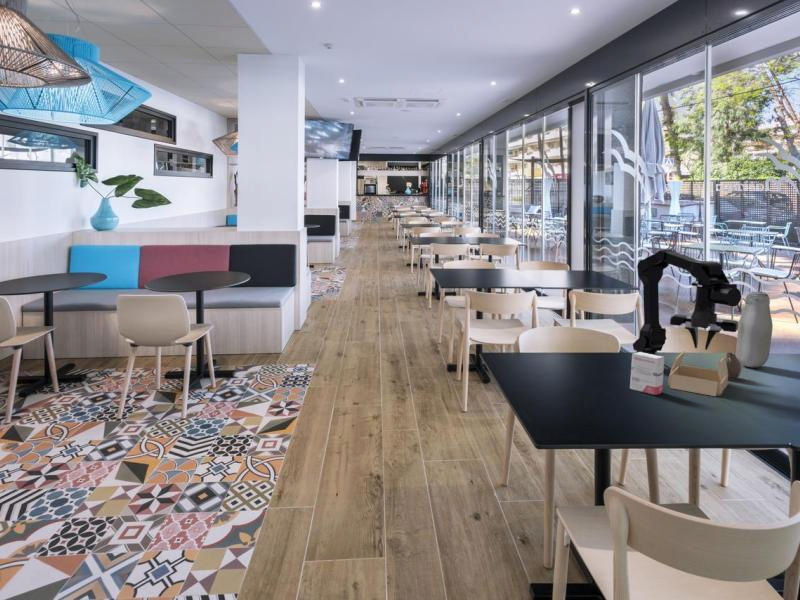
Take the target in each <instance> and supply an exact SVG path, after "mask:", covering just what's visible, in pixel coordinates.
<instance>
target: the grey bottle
mask: <svg viewBox="0 0 800 600" xmlns="http://www.w3.org/2000/svg"><path fill="white" fill-rule="evenodd" d="M744 300H745V301H744V306H743V310H742V312H741V315H740V318H739V320H738V330H737V333H736V334H737V337H736V338H737V339H736V346H735V348H736V349H735V351H736V352H735V355H736V357H737V359H738V360H739V362H740V364H741V366H744V367H748V368H752V369H753V368H759V367H760V368H761V367H763V366H764V365H765V364H766V363H767V361H768V359H769V357H770V351H771V342H772V336H773V335H772V334H773V319H772V315H771V307H770V304H771V298H770V296H769V294H768V293H766V292H763V291H751V292H749V293H747V295H746V297H745V299H744Z"/></svg>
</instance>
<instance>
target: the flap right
mask: <svg viewBox="0 0 800 600" xmlns="http://www.w3.org/2000/svg"><path fill="white" fill-rule="evenodd" d="M719 361H720V362H719ZM719 361H718V363H717V364H716V368H717V369H716V370H718V373H719V378H720V381H722V380H723V378H724V377H725V376H726V374H727V373H728V369H727V365H726V360H725V357H724V356H723V357H722V358H721V359H720V360H719Z"/></svg>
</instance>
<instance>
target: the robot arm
mask: <svg viewBox="0 0 800 600" xmlns="http://www.w3.org/2000/svg"><path fill="white" fill-rule="evenodd" d="M670 265H672V266H674V267H676V268H679V269H682V270H684V271H686V272H689V273H690V275H691V277H693V278H694V279H696V280H694V281H693V282H692V283H691V286H693V287H696V289H695V290H696V292H695V301H694V302H695V303H694V309H693V311H692V313H691V316H690V317H691V318H689V317H688V315H685V314H674V315H672V316H671V317H670V319H669V325H671V326H678V327H680V326H682V325H684V324H685V326H684V329H685V330H688V332H689V333H690V336H691V339H692V342H693V345H694V348H695V349H697V348H698V345H699V344H698V343H699V340H698V339H699V328H702V329H707V328H709V327H710V328H709V329H708V331H707V337H706V342H705V347H704V348H705V349H704V350H705V351H706V350H708V349H709V346H710V344H711V342H712V340H713V338H714V337H715V335H717V334H719V333H720V332H721V331H723V332H729V333H736V332H738V324H739V321H737V320H734V319H733V320H732V319H723V320H722V321H717V320H718V314H717V313H716V305H722V306H726V307H731V308H733V307H734V308H735V307H736V306H738V305H739V304H740V302H741V301H742V293H741V290H740V289H739V288H738V284H736V283H730V281H729V280H728V278H727V276H726V274H725V272H724V270H723V267H722V264H721V263H719V262H717V261H710V260H699V259H695V258H693V257H691V256H687V255H684V254H682V253H679V252H676V251H675V250H673V249H660V250H658V251H657V252H656V253H654V254H651V255H649V256H647V257H645V258H644V259H641V260H639V262H638V263H637V266H636V268H637V275H638V278H639V280H640V281H641V283H642V285H643V287H642V288H643V290H642V292H643V325H642V326H641V328H640V330H639V336H638V339H636V340H635V341H634V342H633V343H632V348H633V351H636V353H638V352H643V353H648V354H652V355H657V356H659V354H658V352H659V351H660V352H661V351H662V349H663V347H664V345H665V344H666V340H667V335H666V333H667V329H666V327H664V328H663V327H662V326H661V324H660V304H659V303H660V301H659V295H660V294H659V293H660V292H659V284H660V281H661V280H662V278H663V275H664V270H665V269H666V268H668V267H669V266H670Z"/></svg>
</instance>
